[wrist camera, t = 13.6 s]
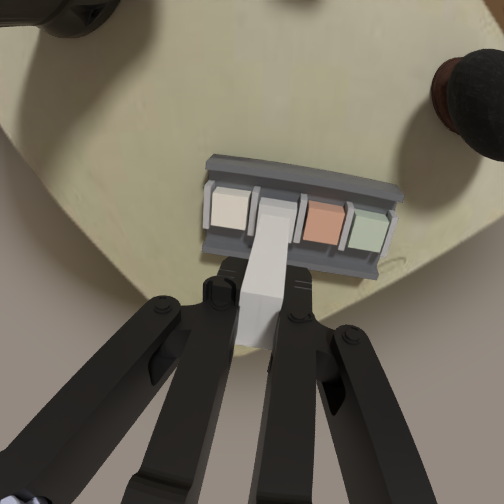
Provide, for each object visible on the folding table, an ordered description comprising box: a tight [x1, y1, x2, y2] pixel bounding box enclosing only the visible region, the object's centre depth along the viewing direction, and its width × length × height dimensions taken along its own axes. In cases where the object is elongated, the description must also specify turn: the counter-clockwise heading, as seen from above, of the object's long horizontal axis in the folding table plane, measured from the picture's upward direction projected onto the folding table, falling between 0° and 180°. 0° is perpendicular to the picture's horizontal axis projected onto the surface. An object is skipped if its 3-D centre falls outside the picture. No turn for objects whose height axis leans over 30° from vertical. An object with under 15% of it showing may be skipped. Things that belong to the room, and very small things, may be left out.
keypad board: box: [202, 154, 405, 280], centre depth 43 cm, size 25×13×4 cm, turn 84°
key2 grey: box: [256, 197, 297, 243], centre depth 40 cm, size 4×4×2 cm
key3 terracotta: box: [303, 200, 345, 245], centre depth 41 cm, size 4×4×2 cm
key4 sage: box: [347, 209, 389, 253], centre depth 41 cm, size 4×4×2 cm
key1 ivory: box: [211, 187, 251, 230], centre depth 42 cm, size 4×4×2 cm
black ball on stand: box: [431, 49, 504, 162], centre depth 26 cm, size 13×13×15 cm
